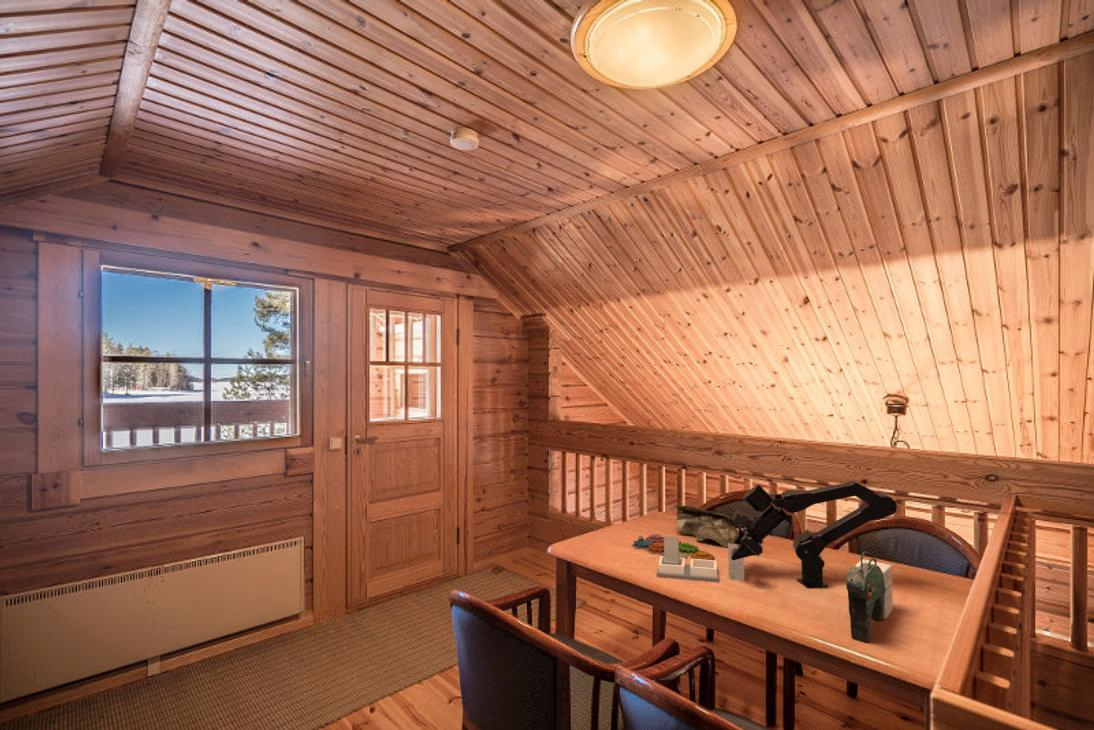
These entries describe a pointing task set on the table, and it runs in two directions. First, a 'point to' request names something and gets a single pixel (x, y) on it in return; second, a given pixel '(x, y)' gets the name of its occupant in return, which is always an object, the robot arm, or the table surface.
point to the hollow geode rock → (707, 525)
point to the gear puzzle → (656, 546)
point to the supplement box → (887, 577)
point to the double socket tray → (690, 570)
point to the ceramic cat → (865, 598)
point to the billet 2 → (735, 564)
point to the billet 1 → (671, 550)
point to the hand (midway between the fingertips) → (731, 554)
